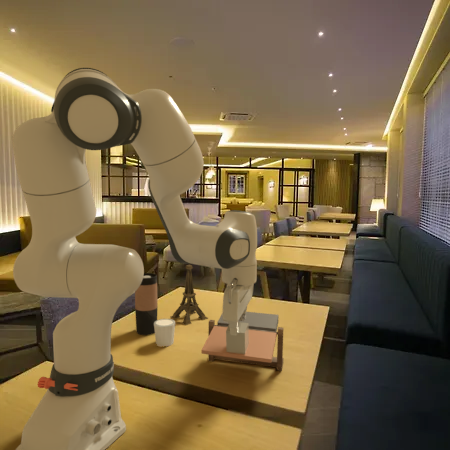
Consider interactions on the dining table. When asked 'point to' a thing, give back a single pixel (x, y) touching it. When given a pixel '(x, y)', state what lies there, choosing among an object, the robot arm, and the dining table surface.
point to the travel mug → (146, 304)
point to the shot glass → (164, 332)
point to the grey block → (238, 339)
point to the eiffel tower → (189, 301)
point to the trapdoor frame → (275, 360)
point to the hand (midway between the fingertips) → (238, 326)
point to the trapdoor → (258, 340)
